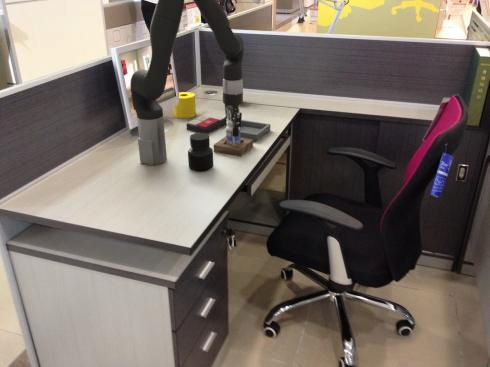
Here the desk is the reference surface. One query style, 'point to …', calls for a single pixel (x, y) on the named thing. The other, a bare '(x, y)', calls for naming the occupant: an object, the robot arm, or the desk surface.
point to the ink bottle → (200, 153)
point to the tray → (253, 130)
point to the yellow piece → (185, 105)
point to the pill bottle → (229, 135)
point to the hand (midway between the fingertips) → (233, 133)
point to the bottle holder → (233, 147)
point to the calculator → (206, 123)
